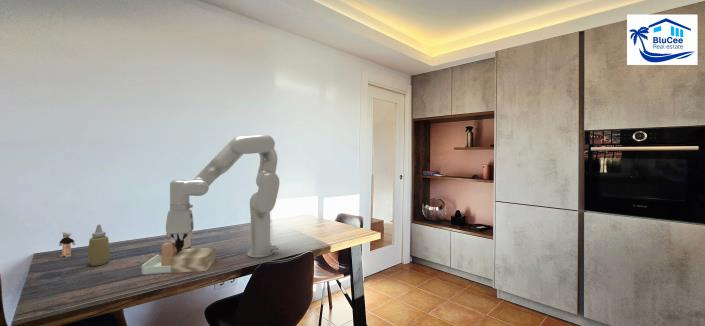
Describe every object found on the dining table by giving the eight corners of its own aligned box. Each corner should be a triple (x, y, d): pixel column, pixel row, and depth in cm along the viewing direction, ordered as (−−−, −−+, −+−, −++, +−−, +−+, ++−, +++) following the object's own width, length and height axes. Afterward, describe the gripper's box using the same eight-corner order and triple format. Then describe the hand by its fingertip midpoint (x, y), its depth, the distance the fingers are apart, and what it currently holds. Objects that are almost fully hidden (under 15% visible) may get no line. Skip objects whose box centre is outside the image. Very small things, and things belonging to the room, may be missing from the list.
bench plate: (215, 259, 139) (215, 247, 139) (206, 270, 125) (206, 256, 125) (183, 261, 136) (183, 248, 136) (170, 273, 122) (170, 258, 122)
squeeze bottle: (114, 262, 136) (114, 223, 135) (94, 268, 128) (94, 227, 128) (103, 260, 138) (103, 222, 138) (82, 265, 131) (82, 226, 130)
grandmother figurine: (54, 258, 141) (54, 232, 141) (60, 255, 145) (60, 230, 145) (73, 257, 143) (72, 231, 143) (78, 254, 146) (78, 229, 146)
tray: (183, 261, 136) (183, 253, 136) (170, 273, 122) (170, 263, 122) (157, 263, 134) (157, 254, 134) (141, 274, 120) (141, 265, 120)
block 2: (176, 253, 131) (165, 254, 130) (172, 256, 127) (161, 256, 126) (176, 264, 131) (165, 265, 130) (172, 267, 127) (161, 268, 126)
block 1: (176, 242, 131) (165, 242, 130) (173, 244, 127) (161, 245, 126) (176, 253, 131) (166, 254, 130) (173, 256, 127) (161, 256, 126)
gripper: (200, 205, 134) (200, 245, 134) (165, 206, 132) (165, 247, 132) (194, 208, 127) (194, 250, 127) (157, 209, 124) (157, 252, 124)
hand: (179, 248), depth 129 cm, fingers closed
